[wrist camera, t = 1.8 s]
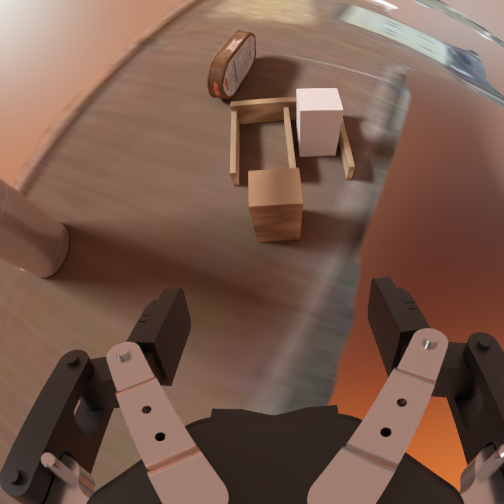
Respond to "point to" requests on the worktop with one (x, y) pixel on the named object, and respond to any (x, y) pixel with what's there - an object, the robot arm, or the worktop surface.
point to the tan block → (276, 203)
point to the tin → (231, 65)
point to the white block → (318, 121)
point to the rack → (274, 112)
